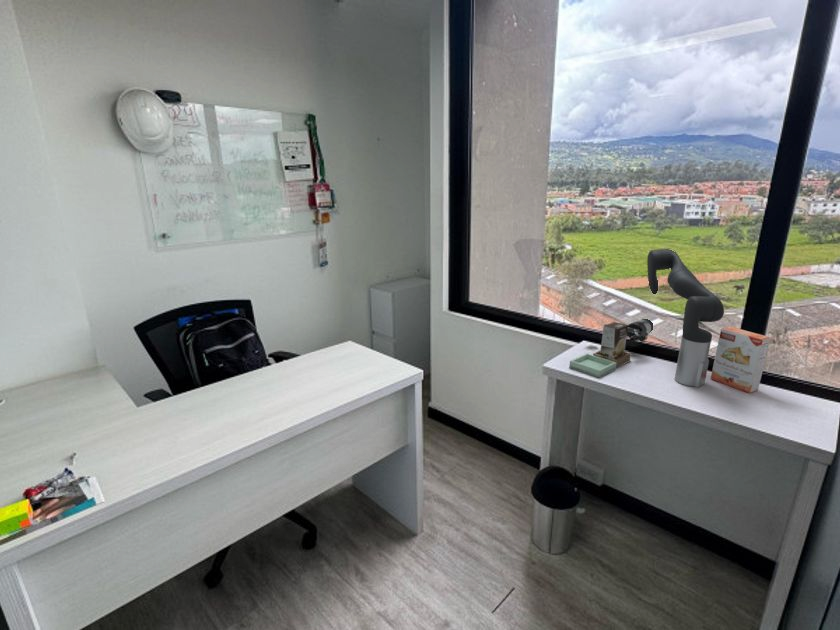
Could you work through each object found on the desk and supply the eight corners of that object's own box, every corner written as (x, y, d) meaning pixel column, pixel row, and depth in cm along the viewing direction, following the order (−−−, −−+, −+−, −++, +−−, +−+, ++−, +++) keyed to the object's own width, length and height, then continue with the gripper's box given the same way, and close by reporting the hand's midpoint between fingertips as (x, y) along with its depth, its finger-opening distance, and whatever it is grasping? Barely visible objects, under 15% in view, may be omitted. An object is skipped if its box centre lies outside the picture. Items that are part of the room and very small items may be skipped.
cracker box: (709, 379, 170) (720, 327, 164) (718, 376, 173) (729, 325, 167) (749, 394, 158) (762, 339, 152) (758, 390, 161) (771, 336, 155)
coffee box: (613, 366, 182) (618, 329, 178) (598, 361, 187) (603, 325, 182) (623, 360, 188) (628, 324, 183) (609, 356, 192) (613, 321, 188)
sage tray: (615, 369, 179) (616, 362, 178) (599, 377, 171) (600, 370, 170) (586, 359, 188) (586, 353, 188) (569, 367, 180) (569, 360, 179)
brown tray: (629, 360, 188) (631, 353, 187) (615, 368, 180) (616, 360, 179) (607, 354, 195) (608, 346, 194) (592, 361, 187) (593, 353, 186)
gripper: (624, 317, 202) (606, 324, 192) (656, 325, 192) (639, 332, 182) (621, 333, 205) (604, 340, 195) (653, 341, 194) (636, 349, 184)
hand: (621, 336), depth 188 cm, fingers open, 8 cm apart
